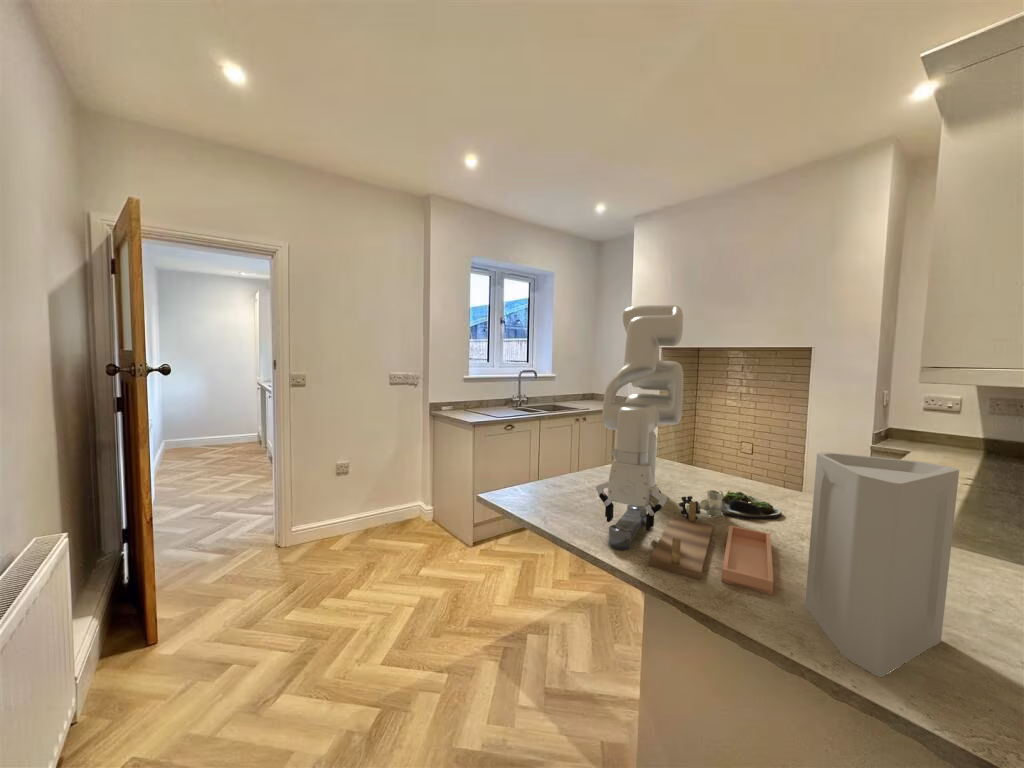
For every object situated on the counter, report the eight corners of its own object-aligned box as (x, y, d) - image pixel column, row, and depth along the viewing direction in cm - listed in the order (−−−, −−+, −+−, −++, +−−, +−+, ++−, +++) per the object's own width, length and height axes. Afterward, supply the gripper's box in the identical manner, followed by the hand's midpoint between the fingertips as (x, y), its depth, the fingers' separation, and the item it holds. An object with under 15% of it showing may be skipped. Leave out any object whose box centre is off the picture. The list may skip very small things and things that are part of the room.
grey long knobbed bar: (629, 516, 114) (630, 502, 114) (648, 520, 112) (648, 506, 112) (605, 547, 96) (606, 530, 96) (627, 552, 94) (628, 535, 93)
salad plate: (693, 496, 132) (693, 482, 132) (746, 496, 134) (747, 482, 133) (728, 521, 113) (729, 505, 113) (791, 520, 114) (792, 504, 114)
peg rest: (671, 520, 112) (673, 497, 111) (713, 529, 107) (714, 505, 106) (649, 565, 88) (650, 536, 88) (700, 579, 83) (702, 548, 83)
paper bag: (838, 591, 80) (850, 448, 78) (943, 640, 67) (961, 469, 64) (775, 617, 72) (786, 457, 69) (880, 678, 58) (898, 484, 56)
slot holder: (728, 535, 104) (729, 525, 103) (769, 543, 99) (770, 533, 99) (721, 581, 83) (722, 569, 82) (772, 595, 78) (773, 581, 78)
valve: (709, 509, 121) (678, 515, 116) (710, 487, 120) (679, 492, 116) (729, 518, 115) (697, 524, 110) (730, 494, 114) (698, 500, 110)
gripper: (592, 455, 104) (590, 521, 105) (665, 465, 95) (662, 538, 96) (602, 449, 110) (600, 512, 111) (671, 458, 101) (668, 527, 102)
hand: (628, 524), depth 104 cm, fingers open, 9 cm apart
